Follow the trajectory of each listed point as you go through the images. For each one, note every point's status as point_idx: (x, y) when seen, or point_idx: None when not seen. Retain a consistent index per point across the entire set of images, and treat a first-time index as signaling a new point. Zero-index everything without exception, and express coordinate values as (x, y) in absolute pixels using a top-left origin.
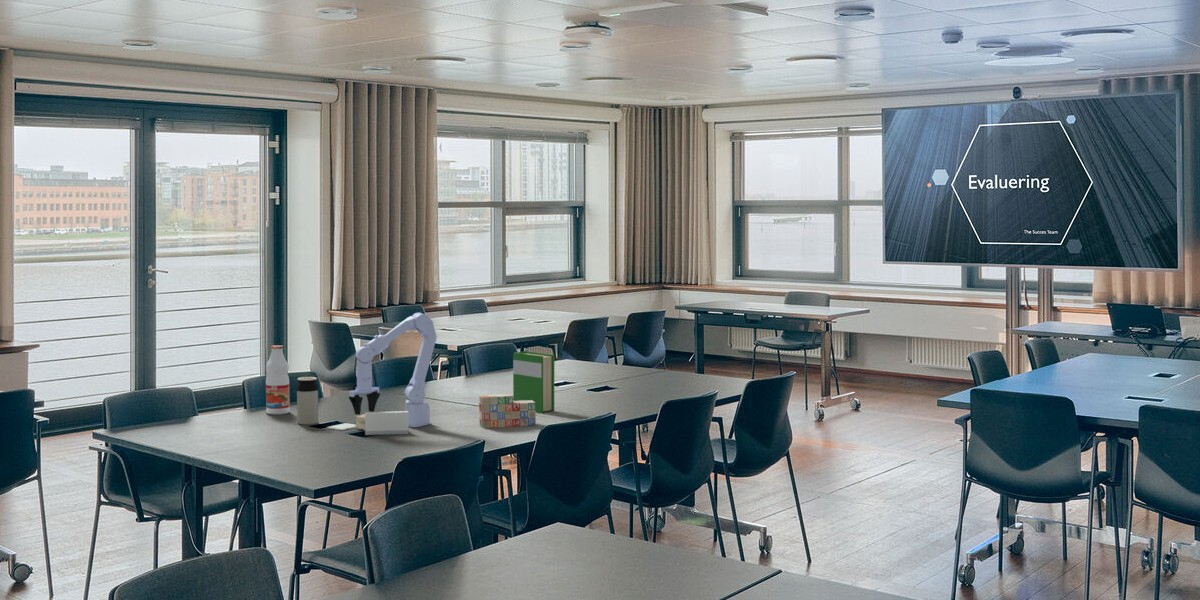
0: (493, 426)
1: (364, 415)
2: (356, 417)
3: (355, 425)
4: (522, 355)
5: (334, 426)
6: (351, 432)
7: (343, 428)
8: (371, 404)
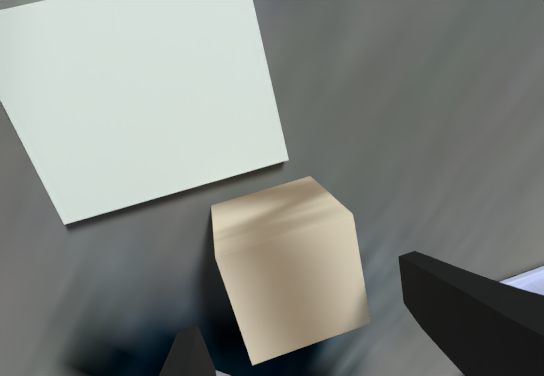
0: None
1: (309, 274)
2: (219, 263)
3: (250, 143)
4: None
5: (54, 52)
6: (110, 315)
7: (91, 204)
8: (464, 341)
